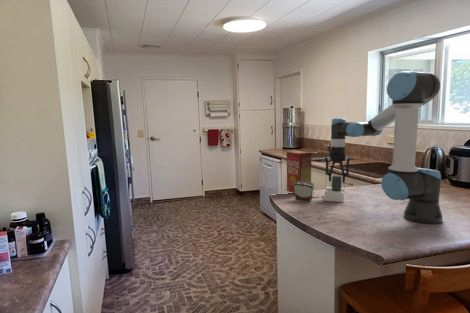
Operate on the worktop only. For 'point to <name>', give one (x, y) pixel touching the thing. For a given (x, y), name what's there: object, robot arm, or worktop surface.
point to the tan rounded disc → (315, 196)
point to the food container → (303, 191)
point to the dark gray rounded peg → (336, 183)
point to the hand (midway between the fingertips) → (336, 187)
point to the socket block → (334, 195)
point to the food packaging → (298, 168)
